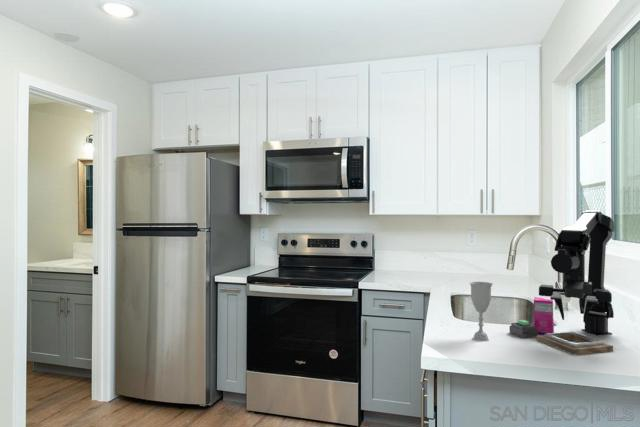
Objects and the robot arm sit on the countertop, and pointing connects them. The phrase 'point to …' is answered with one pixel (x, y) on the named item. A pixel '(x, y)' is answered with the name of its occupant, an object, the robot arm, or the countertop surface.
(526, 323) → the button
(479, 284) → the chalice
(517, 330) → the control block
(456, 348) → the countertop surface
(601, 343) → the wooden picture frame
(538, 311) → the supplement box
